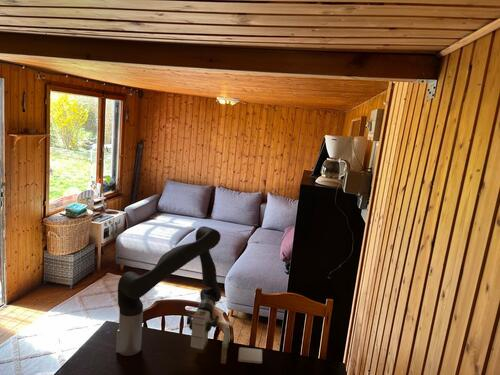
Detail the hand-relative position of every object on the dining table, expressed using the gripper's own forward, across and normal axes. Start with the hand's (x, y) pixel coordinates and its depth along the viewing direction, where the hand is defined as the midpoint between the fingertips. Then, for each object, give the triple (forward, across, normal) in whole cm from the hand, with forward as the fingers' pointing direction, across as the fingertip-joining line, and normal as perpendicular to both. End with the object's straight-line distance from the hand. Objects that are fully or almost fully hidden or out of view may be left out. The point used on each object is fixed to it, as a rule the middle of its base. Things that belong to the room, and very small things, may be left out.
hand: (199, 328), depth 149 cm
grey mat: (-3, +22, +12) cm, 25 cm away
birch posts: (-3, +11, +12) cm, 17 cm away
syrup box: (-2, 0, +9) cm, 9 cm away
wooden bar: (-3, +11, +5) cm, 13 cm away
